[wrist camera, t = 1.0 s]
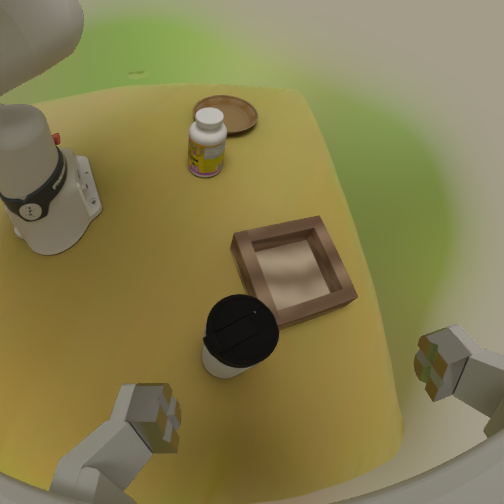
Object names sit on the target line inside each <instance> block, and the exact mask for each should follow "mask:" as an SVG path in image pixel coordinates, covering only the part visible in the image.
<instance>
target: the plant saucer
mask: <svg viewBox="0 0 504 504" xmlns="http://www.w3.org/2000/svg"><path fill="white" fill-rule="evenodd" d="M203 108H216V109H218V110H220V111H221V112H222V113H223V115H224V119H223V123H224V125H225V126H226V128H227V134H235V133H239V132H242V131H245V130H247V129H249V128H250V127H252V126H253V125H254V124H255V123H256V122H257V119H258V113H257V111H256V109H255V108H254V107H253V105H251V104H250V103H249V102H247V101H245V100H243V99H241V98H238V97H234V96H227V95H216V96H210V97H207V98H204V99H202V100H201V101H199V102H198V103H197V104H196V105H195V106H194V109H193V115H194V117H195V116H196V113H197V112H198V111H199V110H200V109H203Z"/></svg>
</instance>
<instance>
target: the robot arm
mask: <svg viewBox="0 0 504 504" xmlns="http://www.w3.org/2000/svg"><path fill="white" fill-rule="evenodd" d="M83 26H84V15H83V10H82V8H81V5H80V3H79V2H78V0H0V96H2V95H3V94H5V93H7V92H8V91H10V90H12V89H14V88H16V87H17V86H19V85H21V84H23V83H25V82H27V81H29V80H31V79H33V78H35V77H36V76H39V75H41V74H42V73H44V72H45V71H46V70H48V69H50V68H51V67H53V66H54V65H56V64H57V63H59V62H60V61H62V60H63V59H65V58H66V57H68V56H69V55H71V54H72V53H73V52H74V50H75V49H76V47H77V45H78V43H79V41H80V38H81V35H82V32H83ZM58 144H60V135H59V133H55V134H53V135H52V134H51V132H50V129H49V126H48V123H47V120H46V117H45V116H44V114H43V113H42V112H41V111H40V110H39V109H37V108H35V107H33V106H31V105H27V104H14V105H5V104H0V198H1V200H2V202H3V203H4V205H5V210H6V212H7V214H8V215H9V217H10V219H11V221H12V222H13V224H14V226H15V227H14V232H15V234H16V236H17V237H19V238H21V239H24V240H25V241H26V243H27V244H28V246H29V247H30V248H31V249H32V250H33V251H34V252H36V253H38V254H42V255H53V254H57V253H60V252H63V251H65V250H66V249H68V248H70V247H71V246H72V245H74V244H75V243H76V242H77V241H78V240H79V239H80V237H81V236H82V235H83V234H84V232H85V230H86V229H87V227H88V225H89V223H90V222H91V221H92V220H93V219H94V218H95V217H97V216H98V215H99V214H100V213H101V211H102V204H101V201H100V198H99V194H98V191H97V188H96V184H95V181H94V177H93V174H92V170H91V166H90V163H89V160H88V158H87V157H85V156H76V155H75V153H74V151H73V150H72V149H70V148H58V147H57V146H56V145H58ZM93 203H95V204H93ZM418 346H419V348H420V350H419V351H418V352H417V353H416V355H415V358H414V370H415V373H416V375H417V377H418V379H419V380H420V381H422V382H424V383H426V386H425V390H426V391H427V393H428V395H429V396H430V398H431V400H432V401H433V402H436V401H438V400H441V399H443V398H445V397H448V396H450V395H453V396H454V397H456V398H458V399H459V400H461V401H463V402H464V403H466V404H468V405H469V406H471V407H473V408H474V409H476V410H478V411H479V412H481V413H483V414H485V415H486V416H488V417H490V418H491V419H490V420H489V422H488V423H487V425H486V426H485V428H484V433H485V434H486V436H487V438H488V439H486V440H485V441H483V442H481V443H480V444H478V445H476V446H474V447H473V448H471V449H469V450H468V451H466V452H464V453H462V454H460V455H458V456H456V457H455V458H453V459H451V460H449V461H447V462H445V463H443V464H441V465H439V466H437V467H435V468H432V469H430V470H428V471H426V472H423V473H421V474H419V475H417V476H414V477H412V478H409V479H407V480H404V481H402V482H399V483H397V484H394V485H391V486H388V487H385V488H383V489H380V490H377V491H374V492H370V493H367V494H364V495H361V496H357V497H354V498H350V499H346V500H342V501H339V502H334V503H331V504H504V355H502V354H499V353H496V352H494V351H491V350H488V349H484V350H482V348H481V347H480V346H479V345H478V344H477V343H476V342H475V341H474V340H473V339H472V338H471V336H470V335H469V334H468V333H467V332H466V331H465V330H464V329H463V328H462V327H461V326H460V325H459V324H454V325H451V326H448V327H445V328H442V329H440V330H437V331H434V332H431V333H428V334H426V335H423V336H421V337H420V339H419V341H418ZM171 394H172V389H171V387H170V385H169V384H168V383H138V384H129V383H124V384H123V385H122V386H121V388H120V391H119V393H118V396H117V399H116V402H115V405H114V408H113V411H112V414H111V417H110V420H109V421H105V422H104V423H102V424H101V425H100V426H99V427H98V428H97V429H95V430H94V431H93V432H92V433H91V434H90V435H88V436H87V437H86V438H85V439H84V440H83V441H81V442H80V443H79V444H78V445H77V446H75V447H74V448H73V449H72V450H71V451H69V452H68V453H67V454H66V455H65V456H63V457H62V458H61V459H60V460H59V462H58V465H57V468H56V471H55V474H54V477H53V480H52V483H51V486H50V489H49V491H47V490H44V489H41V488H38V487H36V486H33V485H30V484H28V483H25V482H23V481H20V480H18V479H15V478H13V477H11V476H9V475H6V474H4V473H2V472H0V504H136V502H135V501H134V499H132V498H131V497H130V496H128V495H127V494H126V493H125V492H123V491H124V490H125V489H126V488H127V486H128V485H129V484H130V483H131V481H132V480H133V479H134V478H135V476H136V475H137V474H138V473H139V471H140V470H141V469H142V468H143V467H144V465H145V464H146V463H147V461H148V460H149V459H150V458H151V456H152V455H153V454H152V453H177V451H178V443H179V435H178V434H177V432H176V430H177V429H178V428H179V427H180V426H181V410H180V406H179V403H178V401H177V399H175V398H174V397H172V396H171Z"/></svg>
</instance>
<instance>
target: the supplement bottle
mask: <svg viewBox="0 0 504 504" xmlns="http://www.w3.org/2000/svg"><path fill="white" fill-rule="evenodd" d="M223 119H224V115H223V113H222V112H221V111H220V110H218V109H216V108H203V109H200V110H199V111H198V112H197V113H196V116H195V122H194V123H193V124H192V125H191V126H190V129H189V146H188V167H189V169H190V171H191V172H192V173H193V174H194V175H196V176H199V177H211V176H214V175H216V174H217V173H218V172H219V171H220V170H221V168H222V163H223V156H224V149H225V143H226V137H227V128H226V126H225V125H224V123H223Z"/></svg>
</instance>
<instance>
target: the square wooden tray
mask: <svg viewBox="0 0 504 504" xmlns="http://www.w3.org/2000/svg"><path fill="white" fill-rule="evenodd" d="M230 249H231V252H232V255H233V258H234V261H235V264H236V267H237V270H238V272H239V275H240V278H241V281H242V284H243V287H244V289H245V292H246V295H249V296H253V297H255V298H258V299H259V300H260V301H261V302H263V303H264V304H265V306H267V307H268V308H269V309H270V310H271V312H272V313H273V315H274V317H275V319H276V323H277V325H278V329H279V330H281V329H284V328H287V327H290V326H293V325H296V324H299V323H302V322H304V321H307V320H310V319H313V318H316V317H318V316H321V315H324V314H327V313H329V312H332V311H335V310H337V309H340V308H342V307H345V306H346V305H348V304H349V303H350V302H352V301H353V300H355V299H356V298H357V297H358V295H357V293H356V291H355V289H354V286H353V284H352V282H351V280H350V278H349V275H348V273H347V271H346V269H345V267H344V265H343V263H342V260H341V258H340V256H339V254H338V252H337V250H336V248H335V246H334V244H333V242H332V240H331V238H330V236H329V234H328V232H327V230H326V228H325V226H324V224H323V222H322V220H321V218H320V216H314V217H309V218H304V219H299V220H294V221H289V222H285V223H280V224H275V225H270V226H265V227H260V228H256V229H251V230H246V231H242V232H237V233H234V235H233V239H232V243H231V248H230Z"/></svg>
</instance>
